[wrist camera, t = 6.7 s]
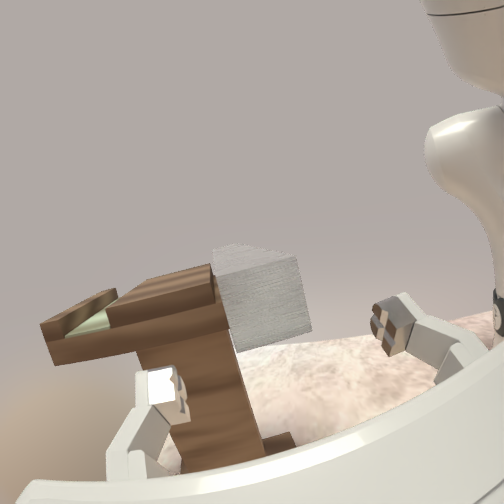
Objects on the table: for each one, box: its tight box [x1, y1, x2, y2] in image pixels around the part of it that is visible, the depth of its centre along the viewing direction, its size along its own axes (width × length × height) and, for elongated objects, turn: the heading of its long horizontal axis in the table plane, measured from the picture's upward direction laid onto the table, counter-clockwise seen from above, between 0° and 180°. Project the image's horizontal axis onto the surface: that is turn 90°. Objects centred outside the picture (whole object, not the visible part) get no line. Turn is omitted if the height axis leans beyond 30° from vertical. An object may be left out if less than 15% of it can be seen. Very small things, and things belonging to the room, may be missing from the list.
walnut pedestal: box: [40, 263, 296, 475], centre depth 30 cm, size 16×20×28 cm
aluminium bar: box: [212, 243, 312, 353], centre depth 24 cm, size 26×3×3 cm, turn 8°
